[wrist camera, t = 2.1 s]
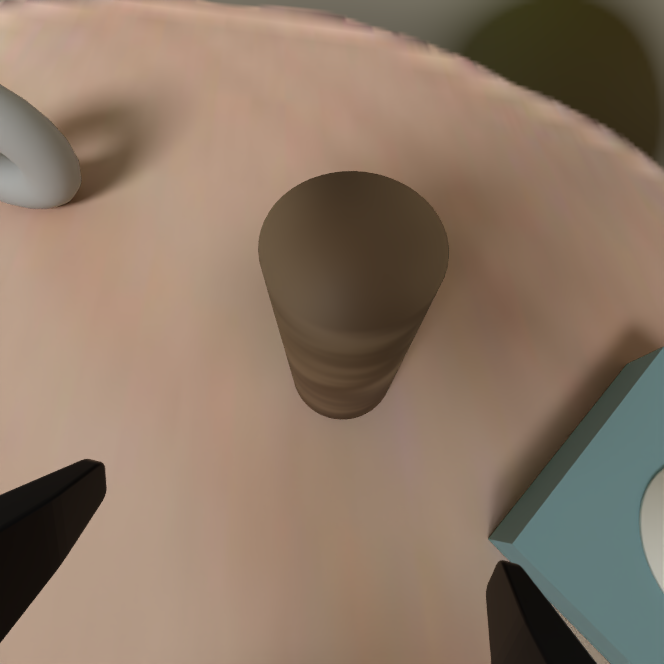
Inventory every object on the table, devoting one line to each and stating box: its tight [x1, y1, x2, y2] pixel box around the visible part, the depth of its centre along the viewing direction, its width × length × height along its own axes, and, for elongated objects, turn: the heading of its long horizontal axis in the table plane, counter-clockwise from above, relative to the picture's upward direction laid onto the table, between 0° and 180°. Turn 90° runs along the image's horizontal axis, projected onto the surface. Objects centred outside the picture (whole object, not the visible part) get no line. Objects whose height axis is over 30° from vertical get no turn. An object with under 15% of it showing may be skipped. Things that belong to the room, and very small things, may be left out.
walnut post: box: [258, 171, 449, 419], centre depth 19 cm, size 6×6×13 cm
